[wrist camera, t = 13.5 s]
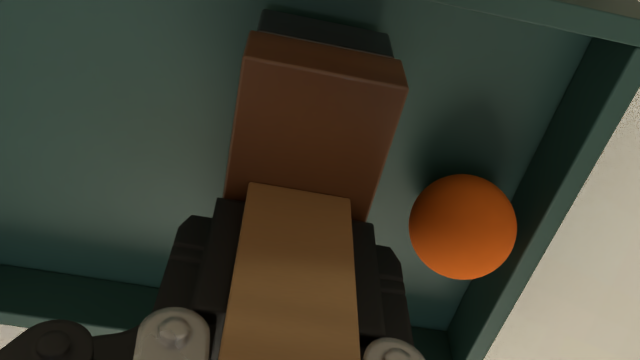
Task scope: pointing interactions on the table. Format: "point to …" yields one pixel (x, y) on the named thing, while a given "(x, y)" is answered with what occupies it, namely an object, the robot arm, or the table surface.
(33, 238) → the tray
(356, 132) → the brush
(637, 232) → the table surface
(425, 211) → the ball
